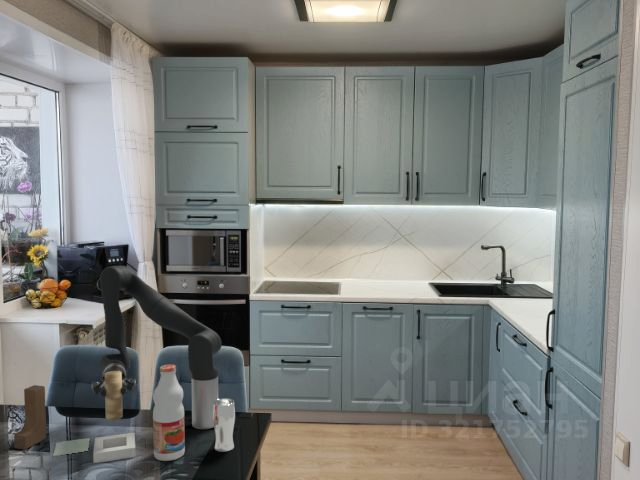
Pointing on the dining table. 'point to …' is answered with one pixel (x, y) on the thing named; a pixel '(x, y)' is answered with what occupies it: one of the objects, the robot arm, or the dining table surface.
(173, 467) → the dining table surface
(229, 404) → the beer glass
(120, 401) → the wooden peg
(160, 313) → the robot arm
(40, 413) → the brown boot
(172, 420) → the fruit juice
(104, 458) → the white square frame
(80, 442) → the sage mat
